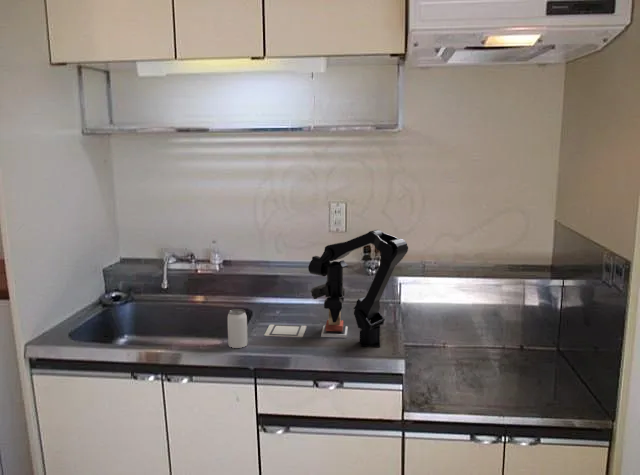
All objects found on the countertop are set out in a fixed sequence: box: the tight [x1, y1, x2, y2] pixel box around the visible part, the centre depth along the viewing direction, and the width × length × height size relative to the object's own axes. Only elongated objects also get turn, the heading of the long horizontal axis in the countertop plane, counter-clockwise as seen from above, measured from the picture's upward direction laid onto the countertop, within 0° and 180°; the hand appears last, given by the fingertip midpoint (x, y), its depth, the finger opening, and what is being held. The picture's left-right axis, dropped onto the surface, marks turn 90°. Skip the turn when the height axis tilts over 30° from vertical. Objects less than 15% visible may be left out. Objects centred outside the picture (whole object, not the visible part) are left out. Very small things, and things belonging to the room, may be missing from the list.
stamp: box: [325, 309, 344, 331], centre depth 186 cm, size 6×6×9 cm
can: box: [227, 308, 248, 349], centre depth 174 cm, size 6×6×12 cm
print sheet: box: [263, 324, 307, 338], centre depth 189 cm, size 14×11×1 cm
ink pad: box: [320, 325, 349, 339], centre depth 187 cm, size 9×9×1 cm
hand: (334, 320), depth 186 cm, fingers closed on stamp, 4 cm apart
